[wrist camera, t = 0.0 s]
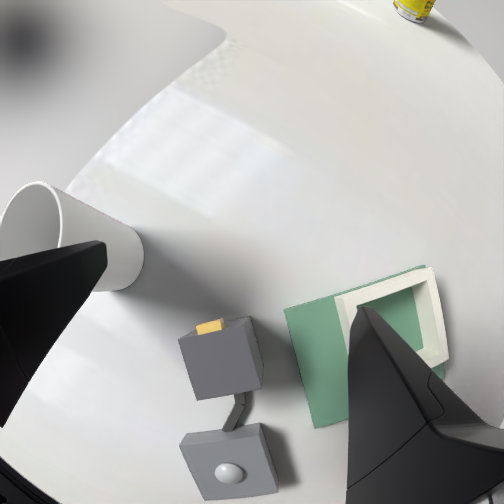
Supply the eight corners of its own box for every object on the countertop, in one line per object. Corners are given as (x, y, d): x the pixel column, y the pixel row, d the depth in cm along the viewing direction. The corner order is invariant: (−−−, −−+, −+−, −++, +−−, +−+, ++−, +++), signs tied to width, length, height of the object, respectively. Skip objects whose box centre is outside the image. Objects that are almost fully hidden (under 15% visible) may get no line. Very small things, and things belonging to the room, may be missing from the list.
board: (439, 374, 22) (461, 385, 18) (313, 424, 22) (319, 445, 18) (419, 265, 23) (442, 261, 19) (283, 309, 24) (285, 313, 20)
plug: (263, 365, 23) (261, 388, 17) (213, 376, 23) (196, 400, 18) (247, 308, 24) (240, 315, 18) (197, 320, 24) (175, 330, 18)
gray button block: (277, 477, 22) (278, 494, 19) (209, 486, 22) (203, 502, 19) (245, 375, 23) (242, 386, 20) (170, 389, 23) (159, 400, 21)
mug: (157, 231, 25) (78, 190, 13) (136, 303, 25) (46, 310, 13) (77, 207, 26) (-5, 170, 14) (59, 269, 26) (-29, 257, 14)
